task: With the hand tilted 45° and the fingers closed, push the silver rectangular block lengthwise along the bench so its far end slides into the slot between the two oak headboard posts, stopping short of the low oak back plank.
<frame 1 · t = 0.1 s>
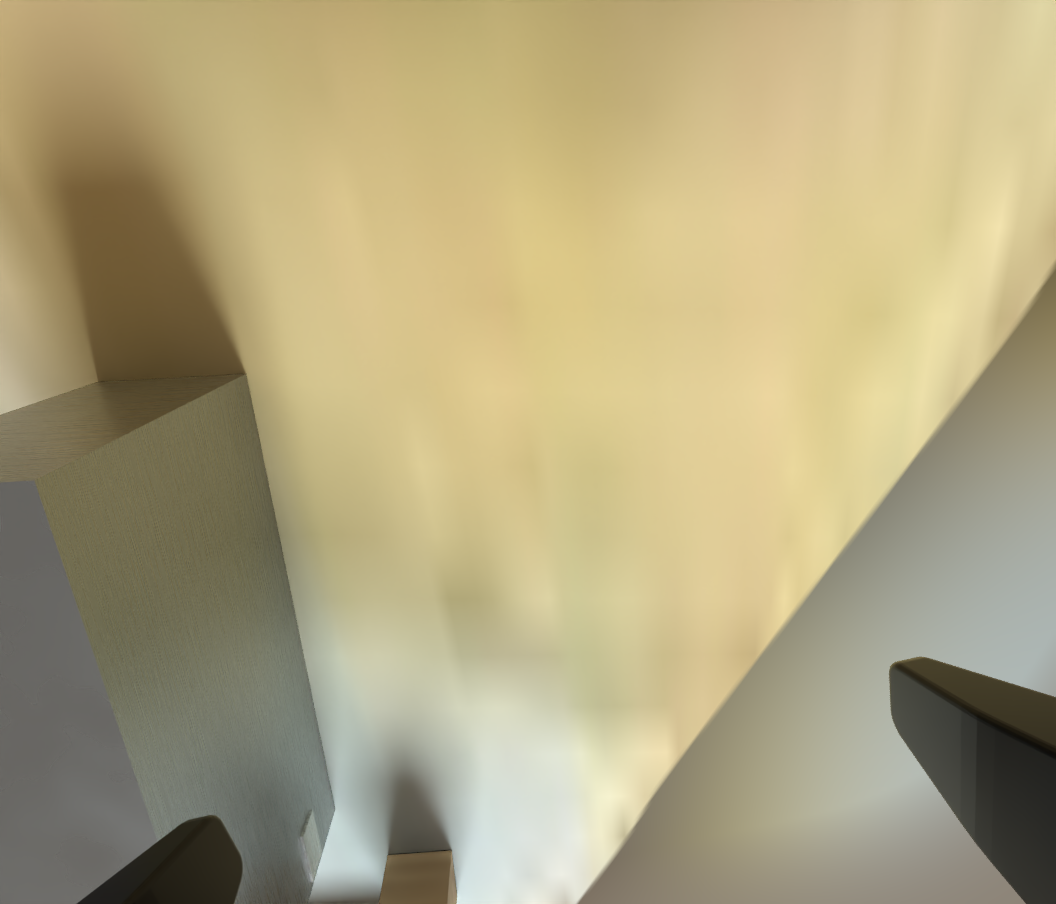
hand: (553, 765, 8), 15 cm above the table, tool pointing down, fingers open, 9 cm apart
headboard: (296, 884, 28), on the table
silver rectangular block: (234, 623, 24), on the table
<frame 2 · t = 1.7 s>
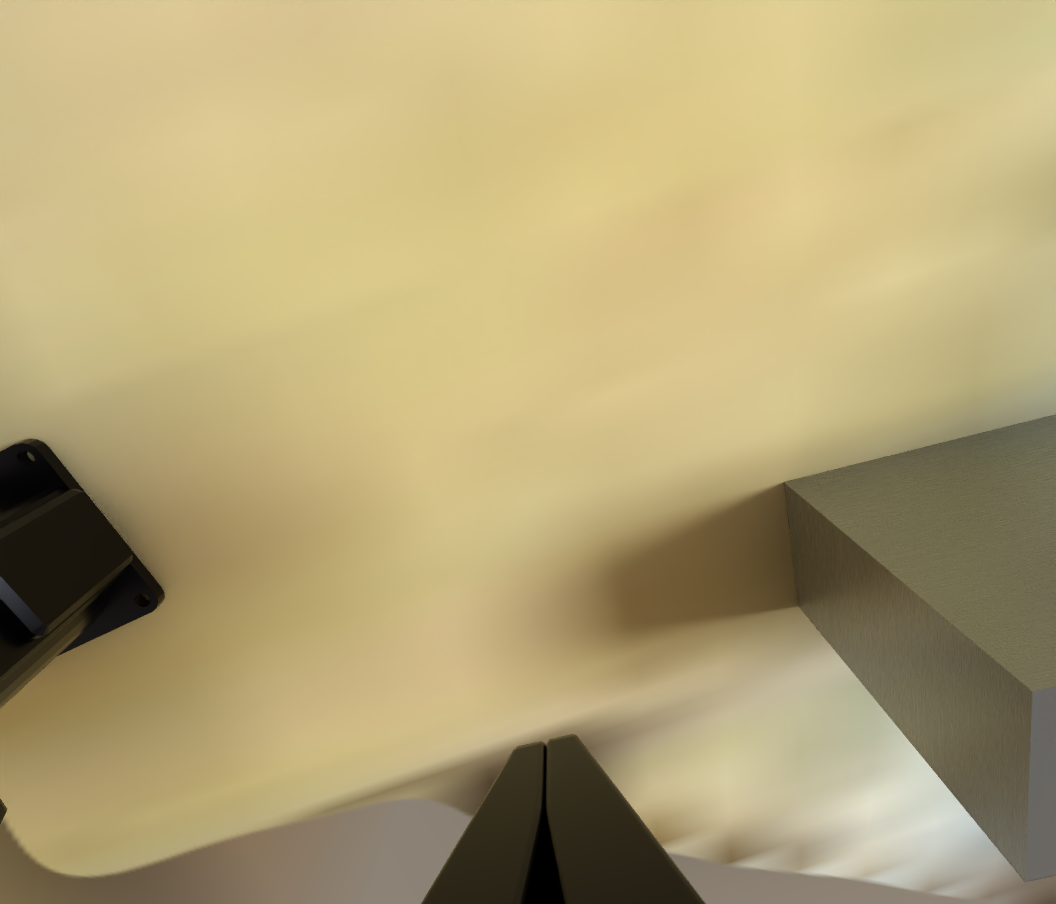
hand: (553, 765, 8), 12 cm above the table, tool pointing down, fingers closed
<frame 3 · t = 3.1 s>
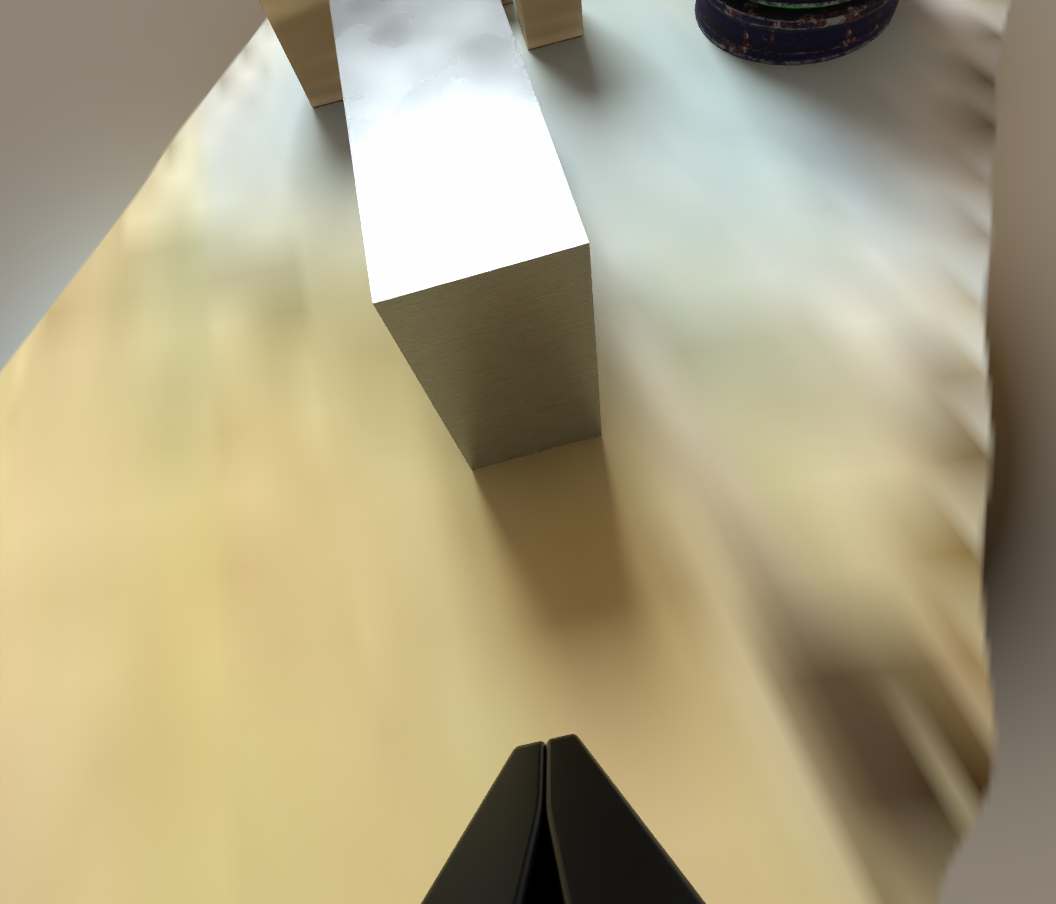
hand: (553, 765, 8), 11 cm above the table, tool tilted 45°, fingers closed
storage jar: (791, 6, 31), on the table
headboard: (442, 54, 33), on the table
silver rectangular block: (485, 256, 27), on the table
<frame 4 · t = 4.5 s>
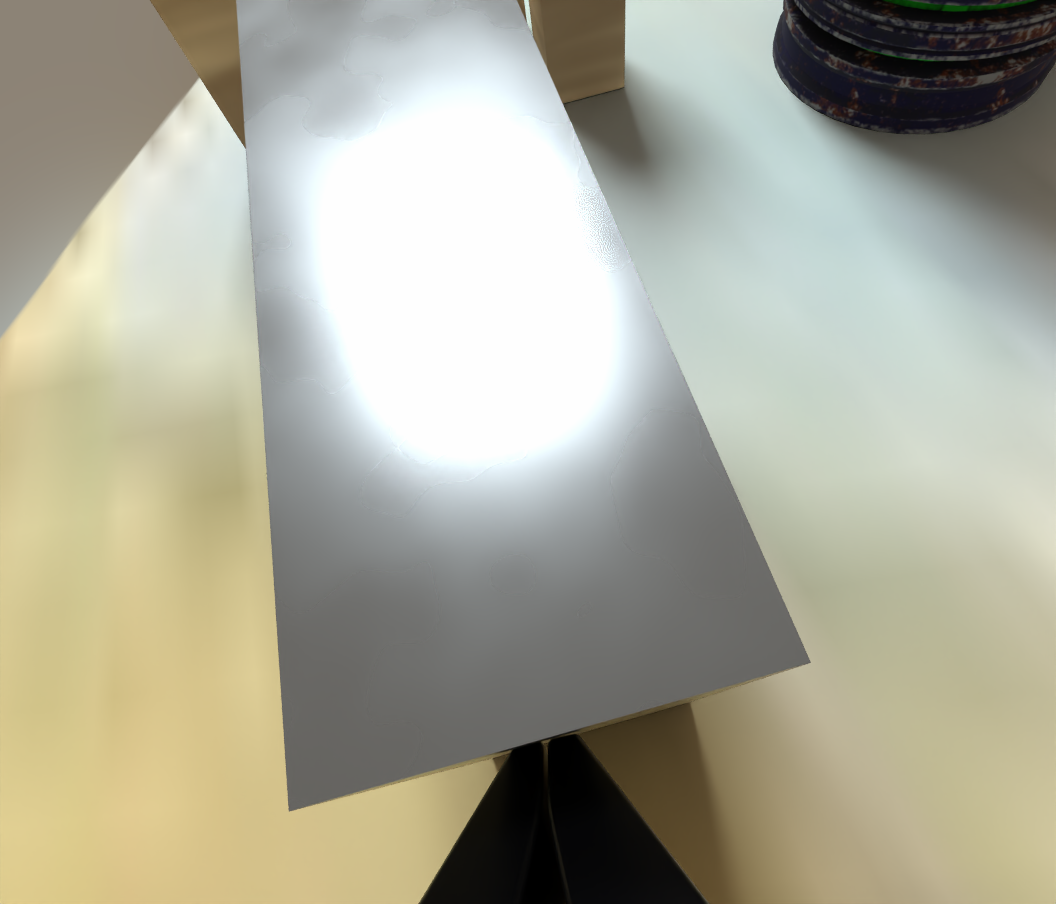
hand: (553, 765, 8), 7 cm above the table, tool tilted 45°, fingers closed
storage jar: (903, 51, 23), on the table
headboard: (438, 111, 25), on the table
silver rectangular block: (498, 391, 19), on the table, touching gripper
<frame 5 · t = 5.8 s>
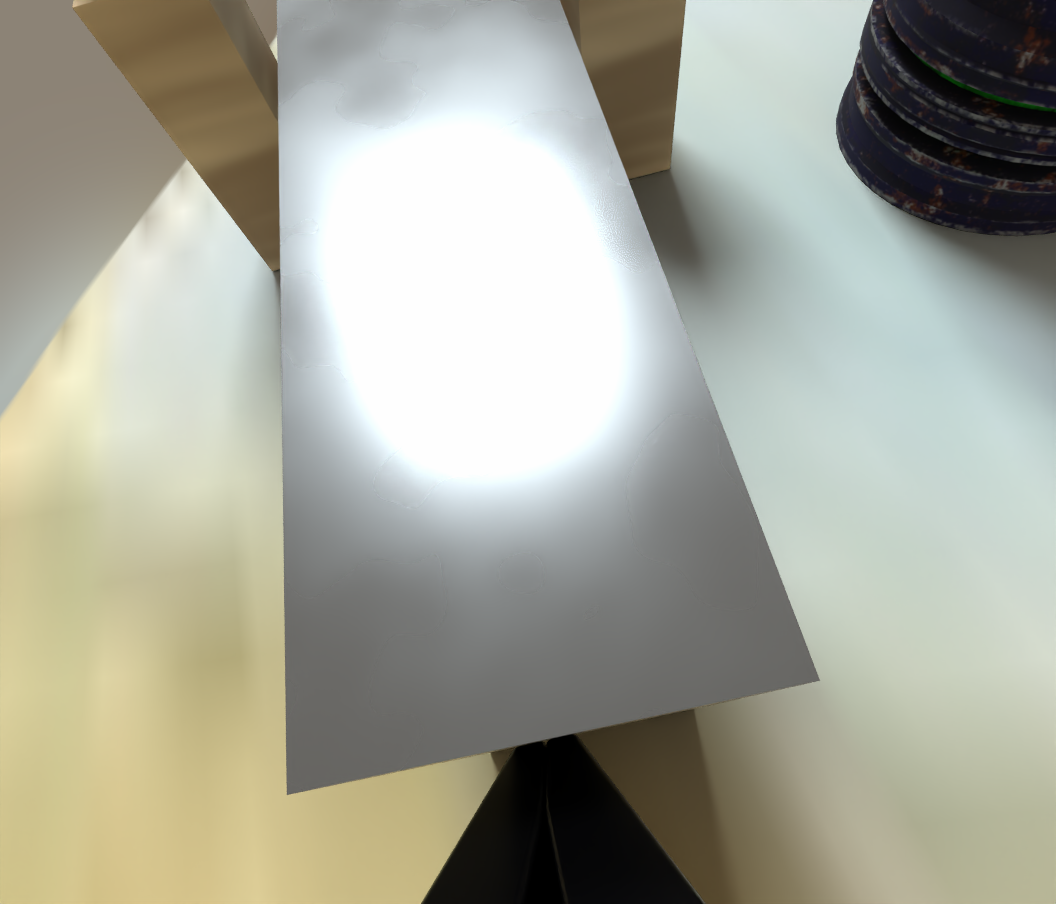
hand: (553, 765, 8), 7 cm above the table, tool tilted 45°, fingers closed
storage jar: (984, 133, 21), on the table
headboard: (462, 192, 22), on the table
silver rectangular block: (516, 386, 19), on the table, touching gripper
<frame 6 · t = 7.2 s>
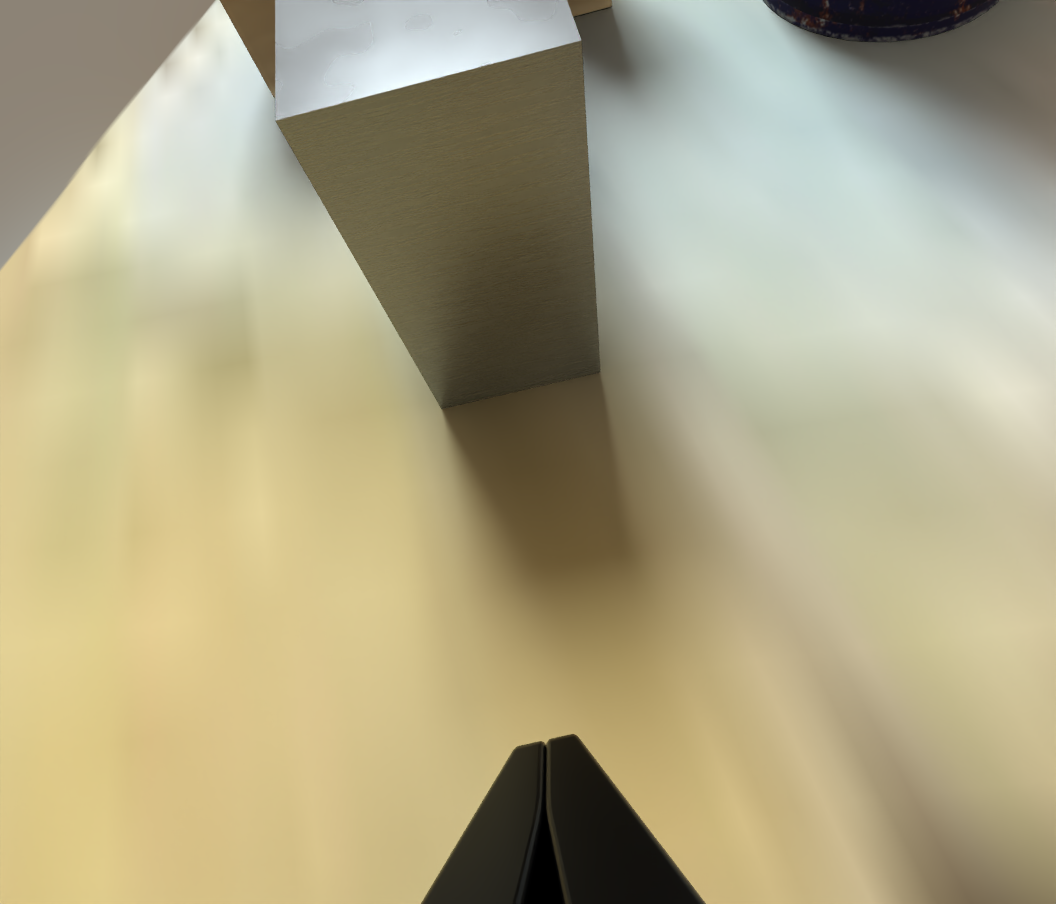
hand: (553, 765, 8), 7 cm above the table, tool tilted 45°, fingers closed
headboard: (436, 32, 26), on the table
silver rectangular block: (475, 170, 23), on the table
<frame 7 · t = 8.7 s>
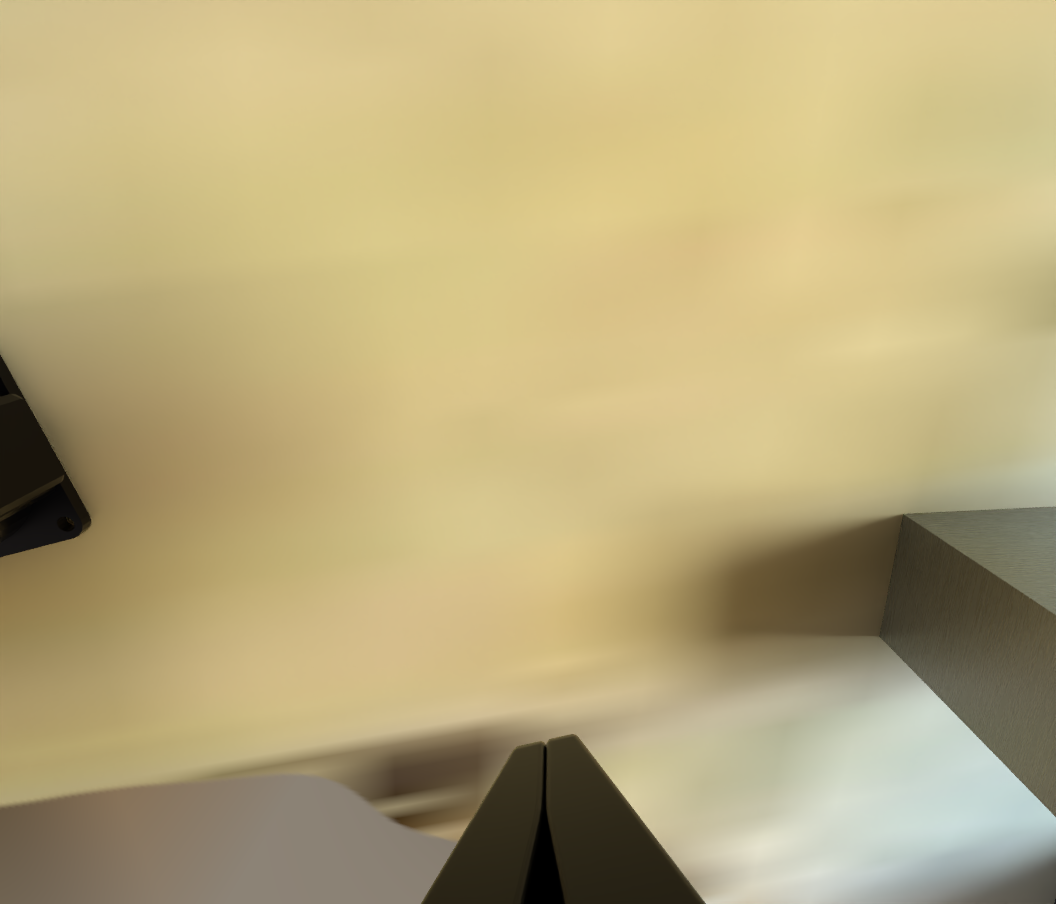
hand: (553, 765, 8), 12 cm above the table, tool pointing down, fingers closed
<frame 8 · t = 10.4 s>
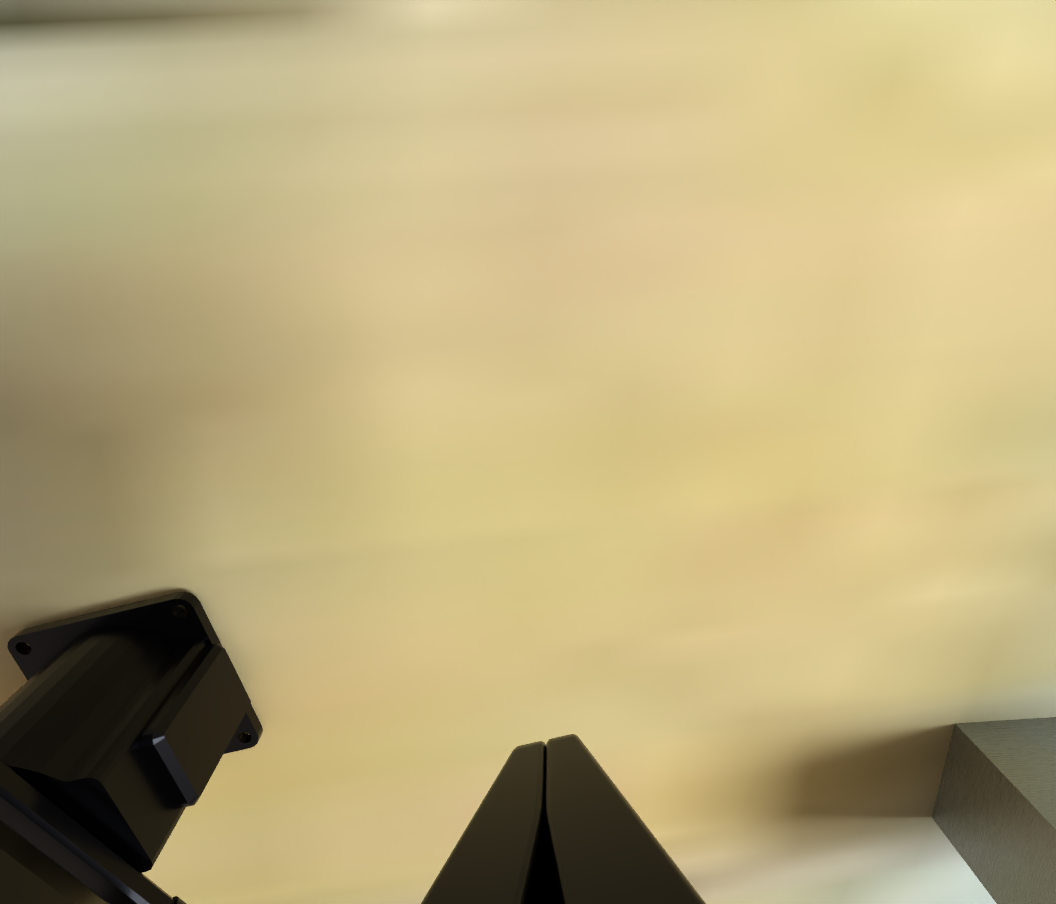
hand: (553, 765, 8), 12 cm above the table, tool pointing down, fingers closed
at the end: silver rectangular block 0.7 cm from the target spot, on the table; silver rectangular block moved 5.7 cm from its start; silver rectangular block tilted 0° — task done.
